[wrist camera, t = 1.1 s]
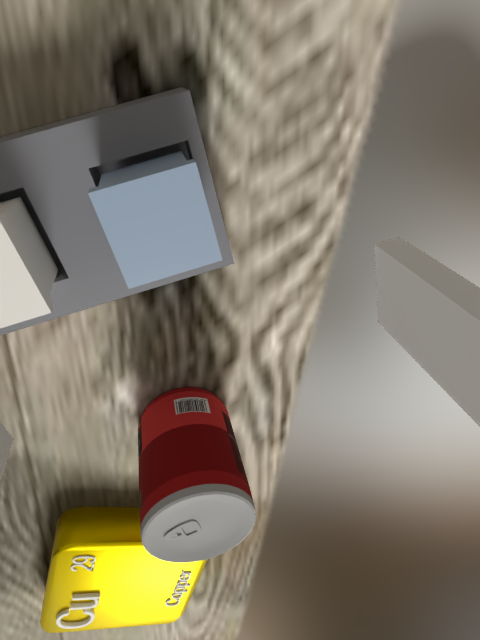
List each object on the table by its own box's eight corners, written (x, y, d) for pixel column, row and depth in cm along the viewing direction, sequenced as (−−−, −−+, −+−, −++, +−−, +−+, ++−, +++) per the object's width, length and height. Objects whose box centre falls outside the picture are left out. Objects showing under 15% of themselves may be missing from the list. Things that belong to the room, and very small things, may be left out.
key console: (-130, 348, 29) (-164, 385, 25) (-256, 207, 23) (-320, 231, 20) (222, 241, 30) (234, 263, 27) (181, 87, 25) (189, 90, 22)
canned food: (119, 417, 37) (115, 536, 27) (195, 368, 36) (218, 473, 26) (172, 461, 41) (185, 578, 31) (242, 418, 40) (275, 524, 31)
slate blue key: (128, 252, 26) (128, 288, 22) (95, 170, 23) (87, 193, 19) (207, 228, 26) (222, 260, 22) (183, 144, 23) (195, 161, 19)
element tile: (176, 585, 52) (180, 628, 48) (44, 592, 47) (36, 641, 43) (209, 504, 46) (217, 546, 42) (60, 502, 41) (53, 550, 37)
